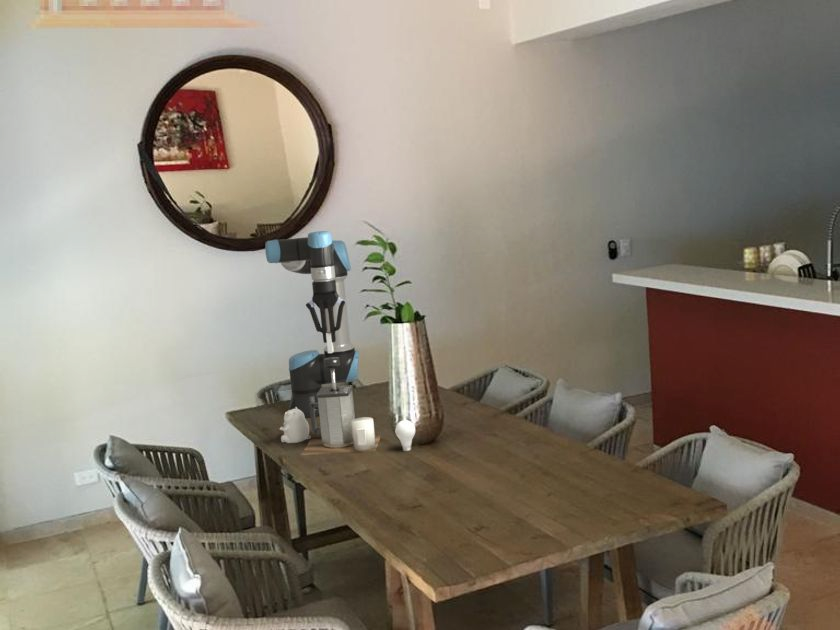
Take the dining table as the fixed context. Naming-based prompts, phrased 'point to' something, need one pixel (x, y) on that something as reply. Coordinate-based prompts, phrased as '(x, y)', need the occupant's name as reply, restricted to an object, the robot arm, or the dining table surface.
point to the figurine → (295, 427)
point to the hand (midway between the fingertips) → (330, 352)
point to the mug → (363, 433)
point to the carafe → (334, 416)
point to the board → (318, 448)
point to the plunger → (332, 368)
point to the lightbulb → (405, 433)
